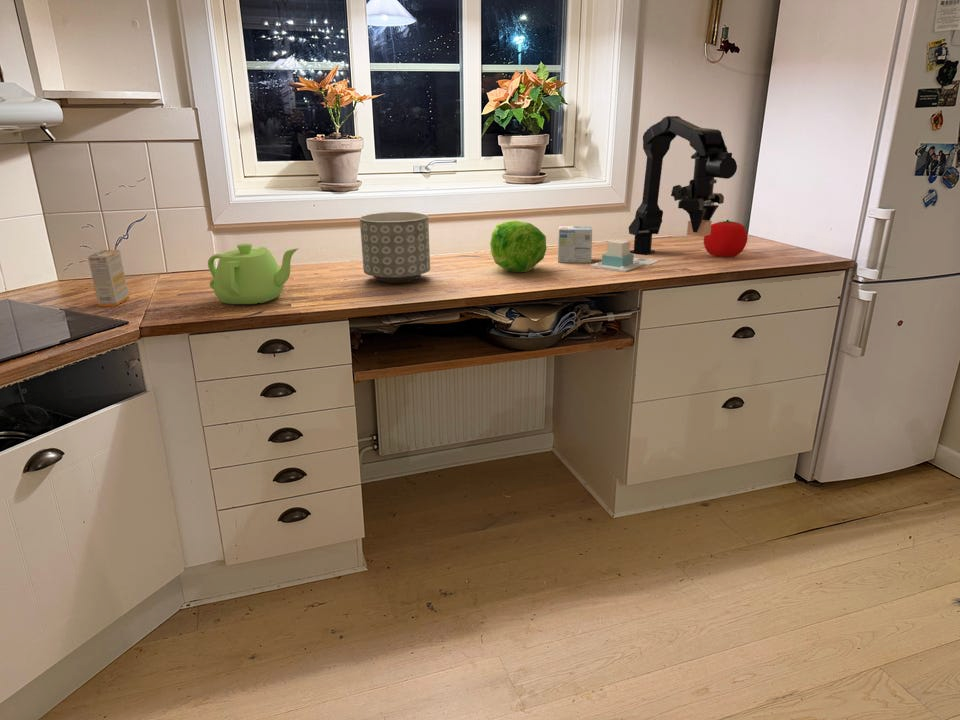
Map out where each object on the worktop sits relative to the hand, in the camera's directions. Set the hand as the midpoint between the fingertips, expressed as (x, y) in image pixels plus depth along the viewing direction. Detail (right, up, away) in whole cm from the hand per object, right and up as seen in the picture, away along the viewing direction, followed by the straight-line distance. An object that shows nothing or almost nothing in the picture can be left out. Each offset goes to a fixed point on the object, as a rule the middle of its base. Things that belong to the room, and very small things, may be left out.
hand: (698, 231), depth 199 cm
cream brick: (-22, -5, +9) cm, 24 cm away
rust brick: (0, -1, 0) cm, 1 cm away
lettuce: (-53, -11, +7) cm, 55 cm away
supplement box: (-159, -23, -23) cm, 162 cm away
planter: (-88, -15, -3) cm, 89 cm away
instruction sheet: (-13, -6, +17) cm, 22 cm away
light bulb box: (-34, -6, +19) cm, 39 cm away
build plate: (-22, -9, +10) cm, 26 cm away
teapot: (-122, -22, -21) cm, 126 cm away
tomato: (+15, -4, +23) cm, 28 cm away
